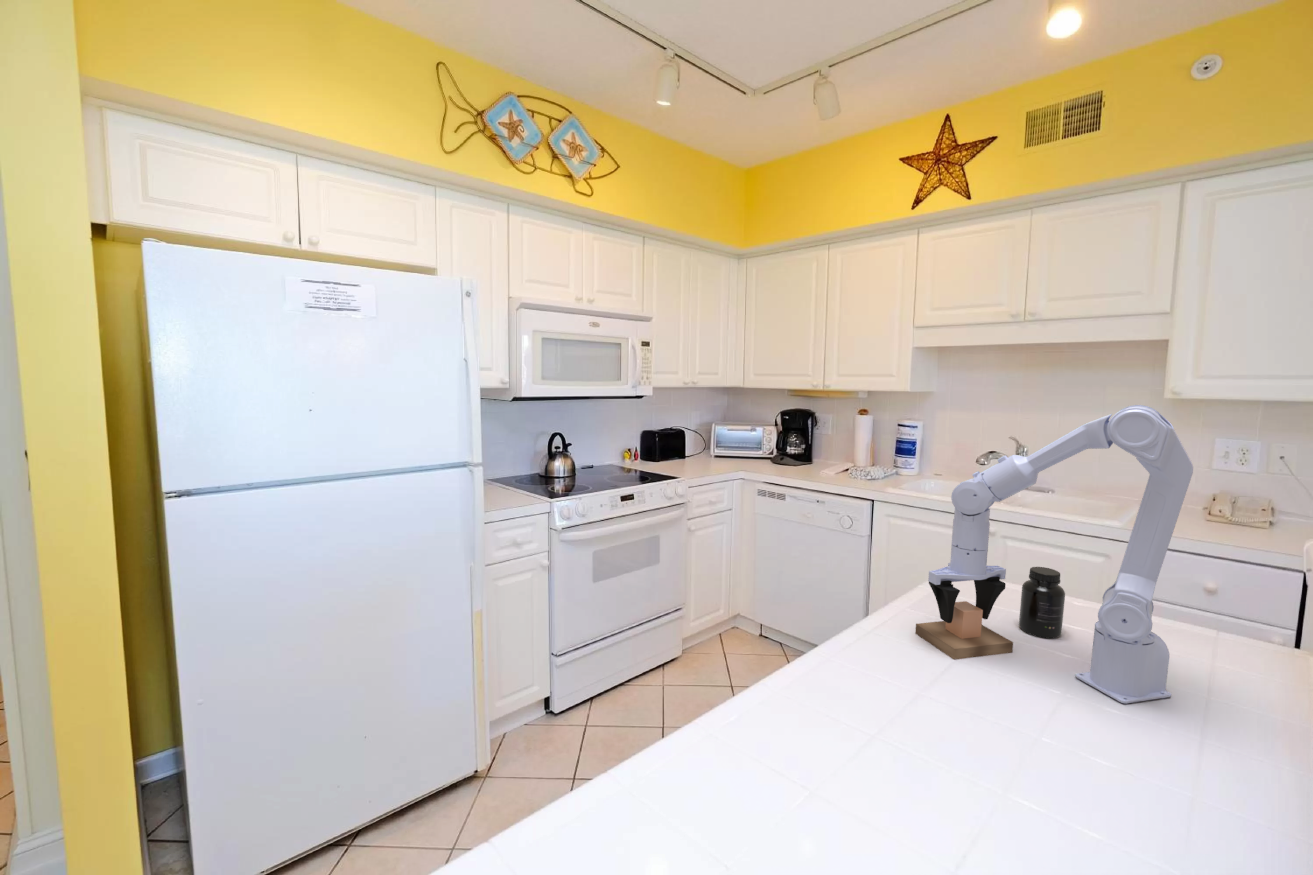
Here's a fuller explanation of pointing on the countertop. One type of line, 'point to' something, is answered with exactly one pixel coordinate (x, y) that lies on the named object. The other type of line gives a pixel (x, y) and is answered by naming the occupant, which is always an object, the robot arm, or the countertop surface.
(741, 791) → the countertop surface
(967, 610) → the terracotta block
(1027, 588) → the supplement bottle
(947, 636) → the walnut board
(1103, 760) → the countertop surface
